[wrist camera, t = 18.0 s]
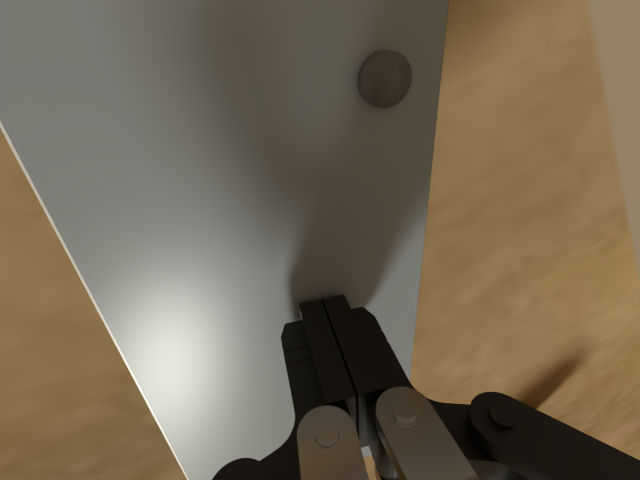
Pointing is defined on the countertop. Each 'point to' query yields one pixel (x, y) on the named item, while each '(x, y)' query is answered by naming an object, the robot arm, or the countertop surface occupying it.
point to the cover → (229, 183)
